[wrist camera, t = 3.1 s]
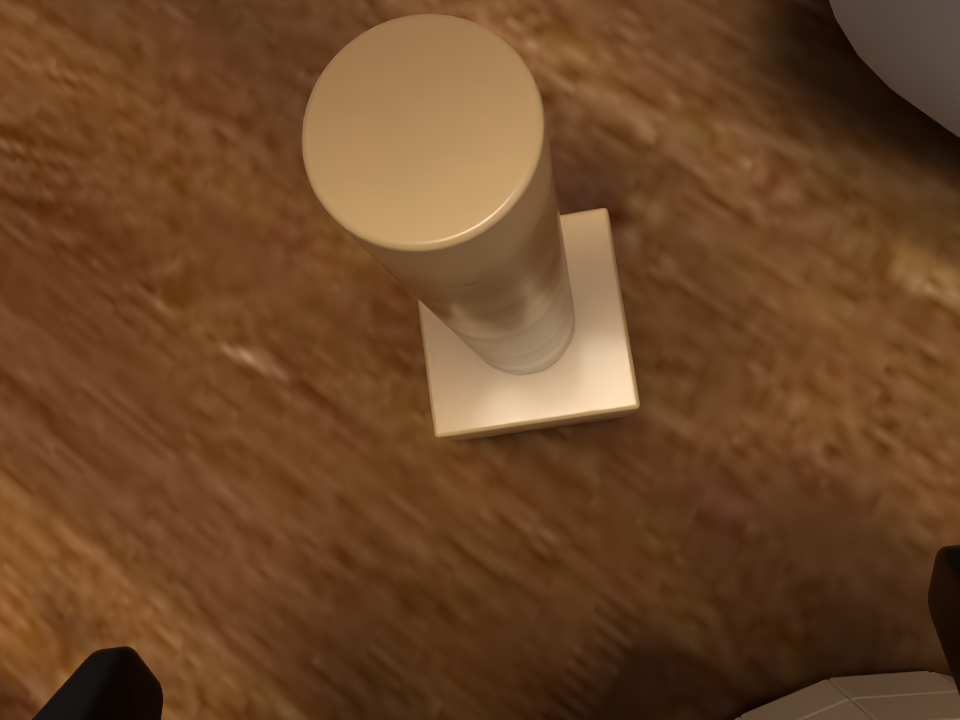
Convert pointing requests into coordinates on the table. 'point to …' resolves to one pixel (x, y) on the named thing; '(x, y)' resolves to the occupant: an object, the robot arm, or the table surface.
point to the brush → (472, 226)
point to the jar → (910, 50)
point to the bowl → (868, 699)
